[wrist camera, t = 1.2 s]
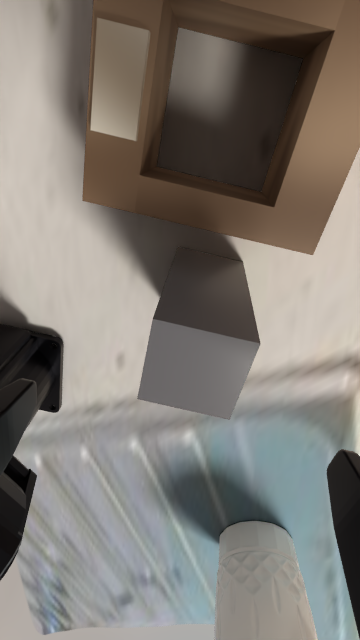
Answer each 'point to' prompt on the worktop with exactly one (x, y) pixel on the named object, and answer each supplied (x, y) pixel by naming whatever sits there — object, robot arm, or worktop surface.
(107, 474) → the worktop surface
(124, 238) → the worktop surface
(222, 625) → the white cup
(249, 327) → the plug
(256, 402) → the worktop surface
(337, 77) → the socket block
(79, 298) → the worktop surface
